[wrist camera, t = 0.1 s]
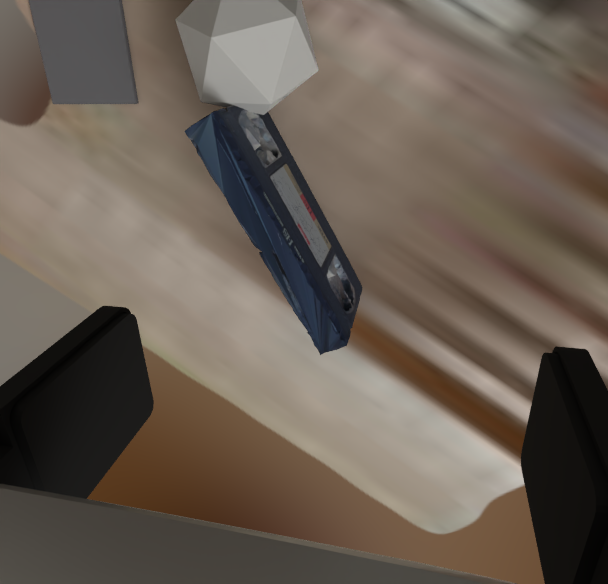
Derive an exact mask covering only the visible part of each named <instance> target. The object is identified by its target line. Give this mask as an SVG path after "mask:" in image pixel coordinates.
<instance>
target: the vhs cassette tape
mask: <svg viewBox="0 0 608 584" xmlns="http://www.w3.org/2000/svg"><path fill="white" fill-rule="evenodd" d="M185 133H186V134H187V136H188V138H189V139H191V141H192V143H193V145H194V146H195V148H196V149H197V153H198V155H199V156H200V157H201V159H202V160H203V162H204V164H205V166H206V168H207V170H208V171H209V173H210V175H211V177H212V178H213V180H214V181H215V182H216V184H217V185H218V186H219V188H220V189H221V191H222V192H223V194H224V195H225V197H226V199H227V201H228V203H229V205H230V207H231V209H232V211H233V212H234V214H235V216H236V218H237V219H238V221H239V223H240V224H241V226H242V227H243V229H244V230H245V232H246V233H247V235H248V236H249V238H250V240H251V241H252V243H253V244H254V246H255V247H256V248H258V249H259V250H260V251H262V252H259V253H260V255H261V257H262V259H263V261H264V263H265V264H266V266H267V267H268V269H269V271H270V272H271V274H272V276H273V278H274V280H275V281H276V283H277V284H278V286H279V287H280V289H281V291H282V293H283V294H284V296H285V297H286V299H287V301H288V302H289V304H290V305H291V306H292V308H293V311H294V312H295V314H296V315H297V316H298V318H299V320H300V321H301V322H302V324H303V325H304V326H305V328H306V329H307V331H308V332H307V333H308V334H309V335H310V336H311V337H312V340H313V342H314V345H315V347H316V348H317V349H318V351H319V353H320V355H321V354H323V353H325V352H329V351H333V350H337V349H339V348H342V347H344V346H347V343H348V340H349V337H350V333H351V331H350V329H351V328H352V325H353V322H354V318H355V315H356V311H357V308H358V304H359V301H360V295H361V292H362V286H361V283H360V281H359V279H358V278H357V276H356V274H355V272H354V270H353V268H352V266H351V264H350V262H349V260H348V258H347V257H346V255H345V253H344V251H343V249H342V247H341V245H340V243H339V242H338V240H337V238H336V236H335V234H334V232H333V230H332V229H331V227H330V225H329V223H328V221H327V219H326V218H325V216H324V214H323V212H322V210H321V208H320V206H319V205H318V203H317V201H316V199H315V197H314V195H313V194H312V192H311V190H310V188H309V186H308V184H307V182H306V180H305V179H304V177H303V175H302V173H301V171H300V169H299V168H298V166H297V164H296V162H295V160H294V158H293V156H292V155H291V153H290V151H289V149H288V148H287V146H286V144H285V142H284V140H283V139H282V137H281V135H280V133H279V131H278V129H277V128H276V126H275V124H274V122H273V120H272V118H271V117H270V115H269V113H268V112H267V113H266V114H264V115H262V114H257V113H252V112H248V110H245V109H243V108H240V107H237V106H234V105H232V106H229V107H227V108H226V109H224V108H223V109H220V110H218V111H214V112H213V113H211V114H210V115H208V116H206V117H204V118H203V119H201V120H200V121H198V122H197V123H195V124H194V125H192V126H191V127H189V128H188V129H187V130H185Z"/></svg>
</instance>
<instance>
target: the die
mask: <svg viewBox="0 0 608 584" xmlns="http://www.w3.org/2000/svg"><path fill="white" fill-rule="evenodd" d="M175 20H176V24H177V27H178V30H179V33H180V36H181V40H182V43H183V46H184V49H185V53H186V56H187V59H188V62H189V65H190V69H191V72H192V75H193V78H194V82H195V85H196V88H197V91H198V94H199V98H200V101H201V102H204V103H208V104H213V105H218V106H223V107H229V106H232V105H234V106H237V107H240V108H243V109H245V110H248V112H252V113H257V114H262V115H264V114H266V113H267V112H268V111H269V110H270V109H272V108H273V107H274V106H275V105H277V104H278V103H279V102H280V101H282V100H283V99H284V98H285V97H286V96H288V95H289V94H290V93H291V92H293V91H294V90H295V89H296V88H298V87H299V86H300V85H301V84H302V83H304V82H305V81H306V80H307V79H309V78H310V77H311V76H312V75H314V74H315V73H316V72H317V71H319V69H318V65H317V61H316V57H315V53H314V49H313V45H312V41H311V37H310V33H309V29H308V25H307V21H306V17H305V13H304V9H303V5H302V1H301V0H193V1H192V2H191V3H190V4H189V6H188V7H187V8H186V9H185V10H184V11H183V12H182V13H181V14H180V15H179V16H178V17H177V18H176V19H175Z"/></svg>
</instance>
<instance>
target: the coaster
mask: <svg viewBox="0 0 608 584" xmlns="http://www.w3.org/2000/svg"><path fill="white" fill-rule="evenodd" d="M29 4H30V9H31V13H32V17H33V21H34V26H35V30H36V34H37V38H38V43H39V47H40V51H41V55H42V60H43V64H44V68H45V72H46V77H47V80H48V85H49V89H50V94H51V98H52V102H53V104H137V103H138V98H137V92H136V85H135V79H134V73H133V67H132V61H131V55H130V49H129V43H128V36H127V30H126V24H125V18H124V12H123V6H122V0H29Z"/></svg>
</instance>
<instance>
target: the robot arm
mask: <svg viewBox="0 0 608 584" xmlns="http://www.w3.org/2000/svg"><path fill="white" fill-rule="evenodd" d="M152 410H153V396H152V392H151V387H150V382H149V377H148V372H147V367H146V363H145V358H144V354H143V348H142V343H141V338H140V334H139V329H138V324H137V320H136V317H135V316H134V315H133V314H131V312H130V311H129V309H127V308H124V307H113V306H102V307H100V308H99V309H98V310H96V311H95V312H94V313H93V314H91V315H90V316H89V317H88V318H86V319H85V320H84V321H83V322H81V323H80V324H79V325H78V326H76V327H75V328H74V329H73V330H71V331H70V332H69V333H67V334H66V335H65V336H63V337H62V338H61V339H60V340H58V341H57V342H56V343H55V344H53V345H52V346H51V347H50V348H48V349H47V350H46V351H44V352H43V353H42V354H41V355H39V356H38V357H37V358H36V359H34V360H33V361H32V362H31V363H29V364H28V365H27V366H25V367H24V368H23V369H22V370H20V371H19V372H18V373H17V374H15V375H14V376H13V377H12V378H10V379H9V380H8V381H6V382H5V383H4V384H3V385H1V386H0V584H516V583H512V582H508V581H503V580H499V579H494V578H489V577H484V576H480V575H475V574H471V573H466V572H461V571H456V570H452V569H447V568H442V567H437V566H433V565H428V564H423V563H418V562H414V561H408V560H404V559H399V558H393V557H388V556H383V555H378V554H373V553H368V552H362V551H357V550H352V549H347V548H342V547H337V546H332V545H327V544H322V543H317V542H311V541H306V540H301V539H295V538H291V537H286V536H280V535H276V534H270V533H265V532H260V531H255V530H249V529H244V528H239V527H233V526H228V525H223V524H217V523H212V522H207V521H202V520H197V519H191V518H186V517H181V516H175V515H170V514H165V513H159V512H154V511H149V510H144V509H138V508H133V507H127V506H121V505H116V504H110V503H105V502H100V501H94V500H89V499H87V497H88V496H89V495H90V494H91V492H92V491H93V490H94V488H95V487H96V486H97V484H98V483H99V482H100V480H101V479H102V478H103V477H104V475H105V474H106V473H107V471H108V470H109V469H110V467H111V466H112V465H113V463H114V462H115V461H116V460H117V458H118V457H119V456H120V454H121V453H122V452H123V450H124V449H125V448H126V446H127V445H128V444H129V443H130V441H131V440H132V439H133V437H134V436H135V435H136V433H137V432H138V431H139V430H140V428H141V427H142V426H143V424H144V423H145V422H146V420H147V419H148V418H149V416H150V415H151V413H152ZM521 467H522V473H523V478H524V483H525V488H526V492H527V498H528V502H529V507H530V512H531V517H532V522H533V527H534V532H535V537H536V542H537V547H538V552H539V557H540V562H541V567H542V571H543V576H544V581H545V584H608V390H607V388H606V386H605V384H604V382H603V380H602V378H601V376H600V374H599V372H598V370H597V368H596V366H595V364H594V362H593V360H592V358H591V356H590V354H589V352H588V351H587V350H586V349H577V348H566V347H555V348H554V350H553V352H552V353H544V354H543V356H542V359H541V364H540V368H539V373H538V378H537V382H536V387H535V392H534V396H533V401H532V406H531V410H530V415H529V420H528V424H527V429H526V434H525V438H524V443H523V448H522V453H521Z"/></svg>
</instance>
